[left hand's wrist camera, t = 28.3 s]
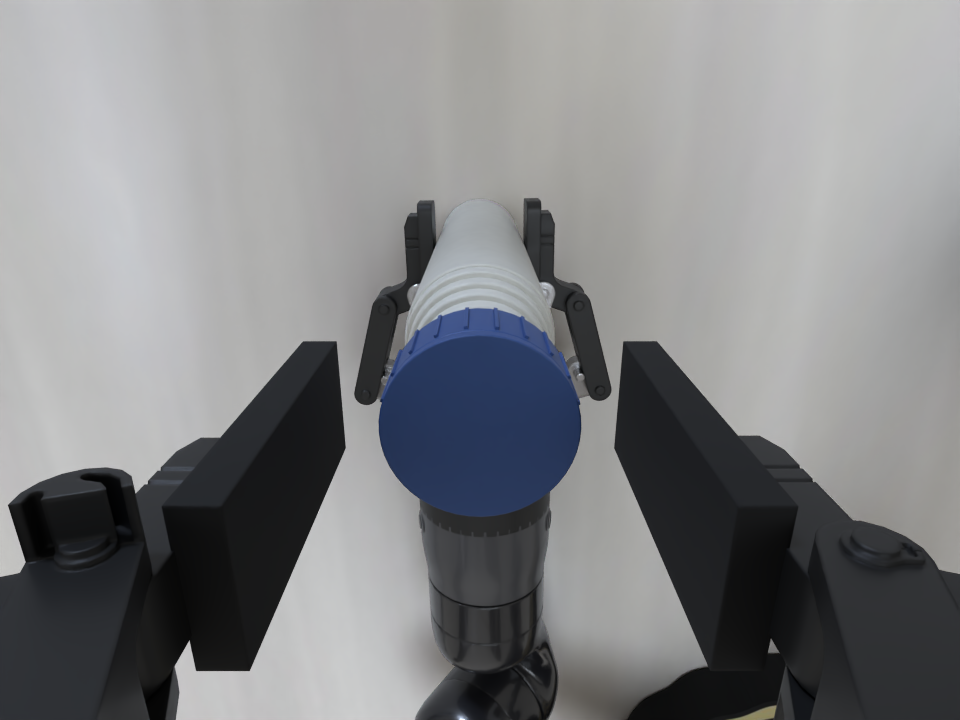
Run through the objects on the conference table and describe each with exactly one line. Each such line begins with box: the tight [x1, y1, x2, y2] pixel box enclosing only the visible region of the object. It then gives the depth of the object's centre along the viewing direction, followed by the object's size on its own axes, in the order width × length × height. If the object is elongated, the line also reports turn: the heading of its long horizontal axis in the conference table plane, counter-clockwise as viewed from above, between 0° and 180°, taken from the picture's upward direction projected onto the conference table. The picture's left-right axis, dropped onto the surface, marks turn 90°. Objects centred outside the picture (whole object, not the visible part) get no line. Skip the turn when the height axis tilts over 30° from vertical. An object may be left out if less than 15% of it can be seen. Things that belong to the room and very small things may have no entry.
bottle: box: [405, 199, 555, 346], centre depth 25 cm, size 4×4×25 cm
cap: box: [379, 307, 581, 517], centre depth 13 cm, size 4×4×2 cm
